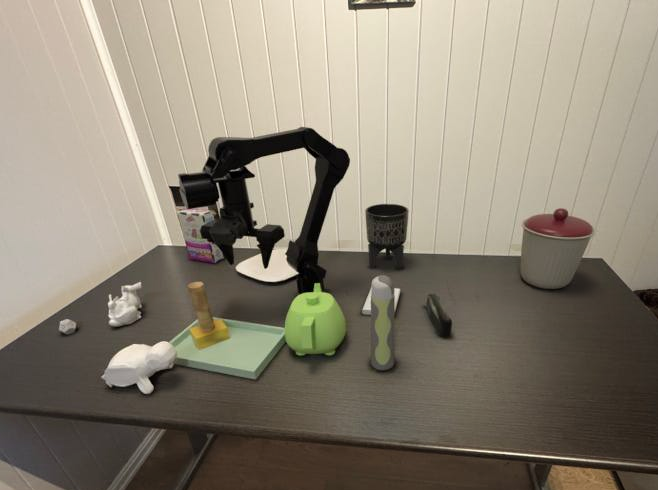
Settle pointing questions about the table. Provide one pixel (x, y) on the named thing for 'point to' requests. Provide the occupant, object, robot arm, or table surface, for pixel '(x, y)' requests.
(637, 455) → the table surface
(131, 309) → the white figurine
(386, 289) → the grey green cylinder
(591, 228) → the canister
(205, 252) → the candy bar box
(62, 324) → the game die
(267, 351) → the tray
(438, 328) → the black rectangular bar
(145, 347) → the white turtle figurine
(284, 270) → the plate
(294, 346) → the teapot
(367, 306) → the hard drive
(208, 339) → the sponge wand
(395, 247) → the planter
